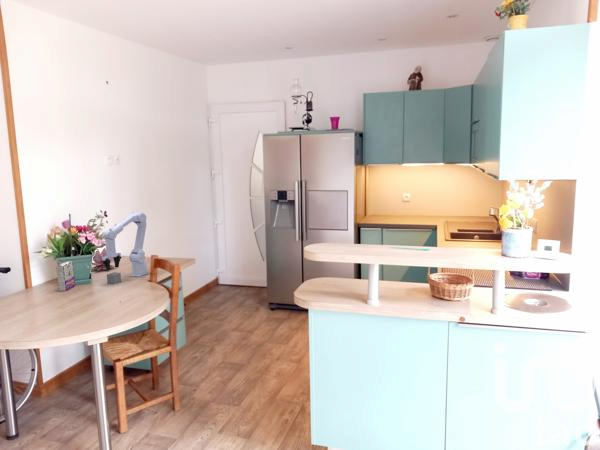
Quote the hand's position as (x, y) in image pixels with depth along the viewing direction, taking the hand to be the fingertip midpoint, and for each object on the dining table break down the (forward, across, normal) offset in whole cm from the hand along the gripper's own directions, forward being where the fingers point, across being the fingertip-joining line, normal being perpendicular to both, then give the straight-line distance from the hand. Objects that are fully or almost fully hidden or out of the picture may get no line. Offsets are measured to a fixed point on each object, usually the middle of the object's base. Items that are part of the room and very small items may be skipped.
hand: (112, 268), depth 293 cm
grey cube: (+9, 0, 0) cm, 9 cm away
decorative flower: (+10, +25, +35) cm, 44 cm away
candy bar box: (+10, -20, +19) cm, 29 cm away
